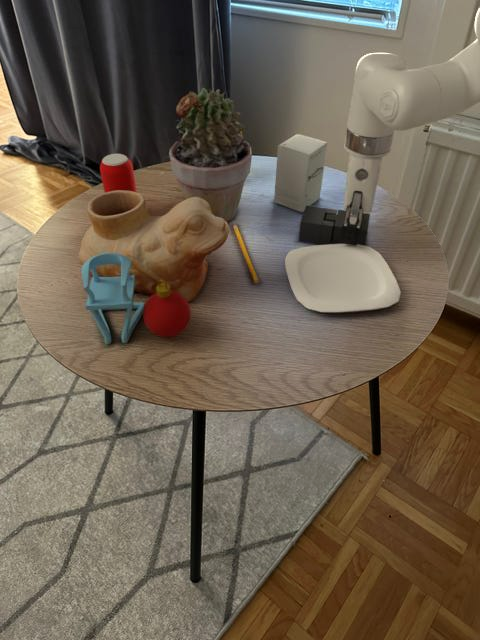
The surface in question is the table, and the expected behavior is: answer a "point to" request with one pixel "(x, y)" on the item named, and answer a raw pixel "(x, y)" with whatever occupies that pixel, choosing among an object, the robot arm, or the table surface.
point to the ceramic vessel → (154, 241)
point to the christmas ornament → (166, 312)
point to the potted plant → (211, 152)
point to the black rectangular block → (340, 219)
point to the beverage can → (117, 173)
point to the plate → (341, 278)
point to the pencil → (245, 254)
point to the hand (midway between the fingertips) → (351, 230)
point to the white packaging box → (299, 171)
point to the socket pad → (316, 226)
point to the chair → (111, 293)
